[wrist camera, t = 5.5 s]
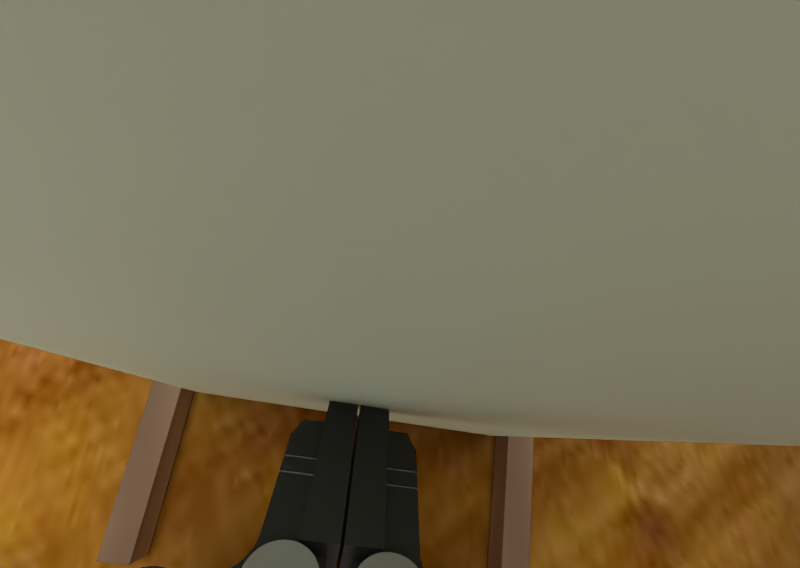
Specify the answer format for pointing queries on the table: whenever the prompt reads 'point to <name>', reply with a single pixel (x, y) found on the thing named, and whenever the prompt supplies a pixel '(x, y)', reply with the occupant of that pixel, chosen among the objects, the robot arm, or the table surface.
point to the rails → (159, 449)
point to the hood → (416, 207)
